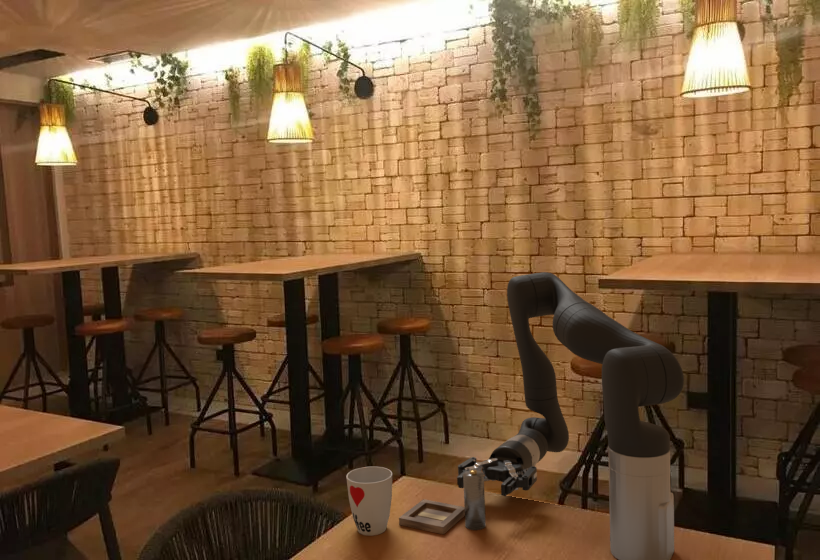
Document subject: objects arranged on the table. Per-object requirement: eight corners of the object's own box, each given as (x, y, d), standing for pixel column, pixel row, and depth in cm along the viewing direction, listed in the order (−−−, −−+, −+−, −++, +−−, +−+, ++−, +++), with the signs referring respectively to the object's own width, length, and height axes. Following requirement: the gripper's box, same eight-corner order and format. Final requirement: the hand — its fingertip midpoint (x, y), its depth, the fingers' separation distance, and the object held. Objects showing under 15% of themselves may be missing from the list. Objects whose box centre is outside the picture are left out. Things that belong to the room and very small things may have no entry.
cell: (488, 523, 123) (486, 468, 122) (480, 531, 120) (478, 475, 119) (470, 519, 125) (468, 465, 124) (461, 527, 122) (459, 472, 121)
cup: (343, 525, 125) (340, 471, 124) (384, 515, 128) (381, 463, 127) (358, 543, 117) (355, 486, 117) (402, 532, 121) (399, 477, 120)
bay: (466, 514, 127) (466, 507, 127) (443, 534, 119) (443, 527, 119) (423, 505, 132) (423, 499, 132) (399, 524, 124) (398, 517, 124)
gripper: (482, 435, 141) (445, 461, 128) (549, 444, 134) (517, 472, 120) (483, 471, 142) (446, 500, 128) (550, 481, 135) (518, 514, 121)
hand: (481, 486), depth 124 cm, fingers open, 8 cm apart
